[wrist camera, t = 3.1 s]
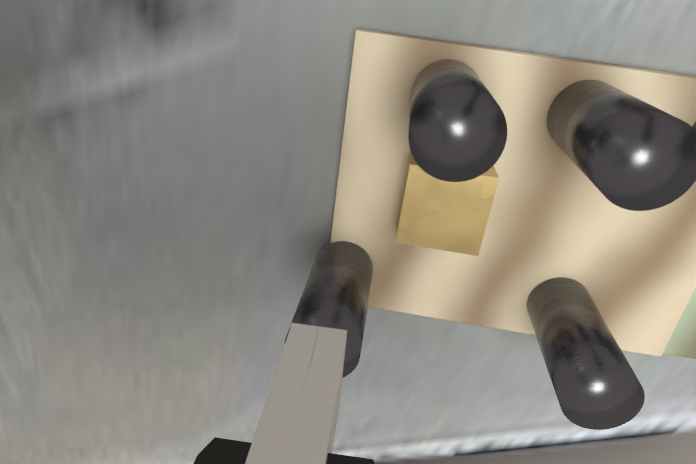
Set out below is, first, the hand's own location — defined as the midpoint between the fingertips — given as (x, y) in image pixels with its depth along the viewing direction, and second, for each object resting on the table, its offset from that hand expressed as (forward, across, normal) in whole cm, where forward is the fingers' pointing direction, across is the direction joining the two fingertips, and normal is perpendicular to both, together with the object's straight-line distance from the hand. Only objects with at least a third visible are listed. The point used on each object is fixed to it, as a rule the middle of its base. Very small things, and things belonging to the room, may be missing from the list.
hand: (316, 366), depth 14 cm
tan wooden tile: (+16, +5, -1) cm, 17 cm away
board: (+17, +13, -1) cm, 21 cm away
